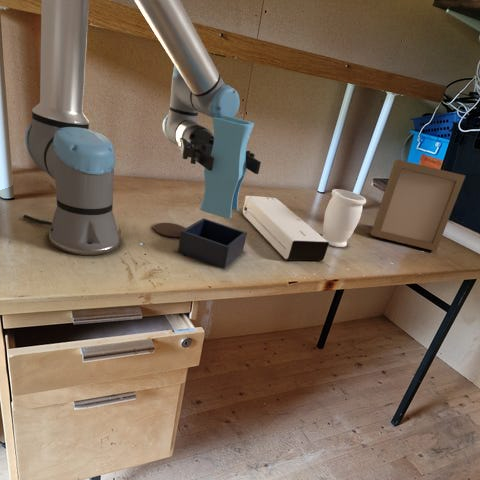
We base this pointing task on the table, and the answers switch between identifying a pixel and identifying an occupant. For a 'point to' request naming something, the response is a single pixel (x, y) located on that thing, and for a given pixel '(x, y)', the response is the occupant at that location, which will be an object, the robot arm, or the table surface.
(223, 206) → the vase
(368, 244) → the table surface
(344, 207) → the jar
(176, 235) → the coaster
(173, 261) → the table surface
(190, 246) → the bin
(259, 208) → the laminator
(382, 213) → the photo frame
